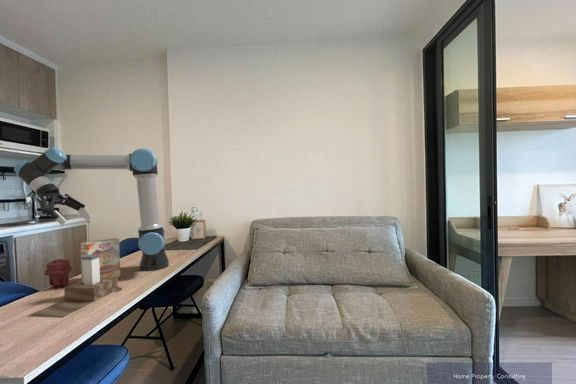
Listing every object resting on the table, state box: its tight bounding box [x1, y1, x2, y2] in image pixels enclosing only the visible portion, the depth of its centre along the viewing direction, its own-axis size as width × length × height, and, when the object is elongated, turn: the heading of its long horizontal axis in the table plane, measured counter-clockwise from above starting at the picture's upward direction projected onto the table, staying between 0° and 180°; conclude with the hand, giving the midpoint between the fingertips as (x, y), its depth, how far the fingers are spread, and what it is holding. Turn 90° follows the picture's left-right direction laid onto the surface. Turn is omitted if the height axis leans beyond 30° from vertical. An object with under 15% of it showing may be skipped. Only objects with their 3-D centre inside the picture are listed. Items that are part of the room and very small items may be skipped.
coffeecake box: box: [80, 237, 121, 281], centre depth 143 cm, size 15×7×20 cm, turn 150°
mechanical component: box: [44, 258, 73, 290], centre depth 134 cm, size 12×10×10 cm
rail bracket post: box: [80, 255, 100, 285], centre depth 121 cm, size 5×5×16 cm
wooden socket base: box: [26, 277, 123, 319], centre depth 114 cm, size 29×14×6 cm, turn 173°
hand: (77, 221), depth 130 cm, fingers open, 13 cm apart
